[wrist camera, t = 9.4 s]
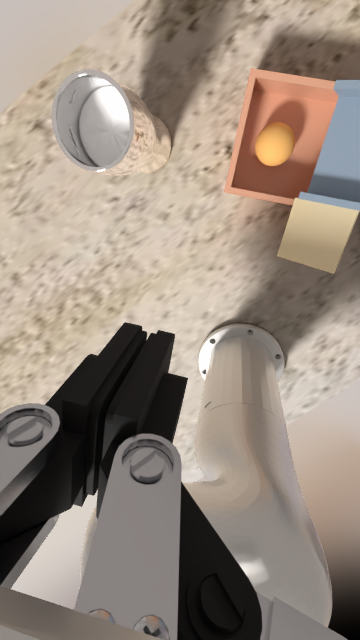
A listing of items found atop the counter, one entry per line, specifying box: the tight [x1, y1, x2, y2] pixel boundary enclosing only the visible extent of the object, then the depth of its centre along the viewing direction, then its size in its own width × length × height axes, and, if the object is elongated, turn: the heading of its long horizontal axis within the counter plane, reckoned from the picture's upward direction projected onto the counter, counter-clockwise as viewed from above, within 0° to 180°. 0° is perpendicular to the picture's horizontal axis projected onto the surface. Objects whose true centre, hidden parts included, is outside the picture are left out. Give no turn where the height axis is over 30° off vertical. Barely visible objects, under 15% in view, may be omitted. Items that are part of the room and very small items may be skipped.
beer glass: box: [52, 69, 171, 176], centre depth 30 cm, size 7×7×15 cm
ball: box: [255, 122, 295, 166], centre depth 32 cm, size 4×4×4 cm
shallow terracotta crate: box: [224, 68, 339, 205], centre depth 32 cm, size 11×11×5 cm
